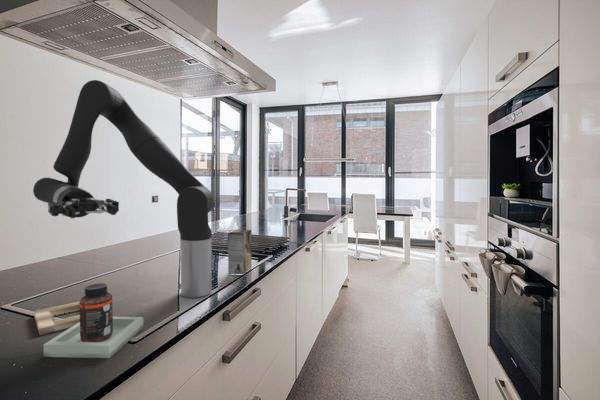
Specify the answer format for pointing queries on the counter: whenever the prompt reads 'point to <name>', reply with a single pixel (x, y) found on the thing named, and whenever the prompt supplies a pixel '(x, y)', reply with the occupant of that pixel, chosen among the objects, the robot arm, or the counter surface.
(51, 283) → the counter surface
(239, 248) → the coffee box
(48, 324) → the frame
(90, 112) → the robot arm
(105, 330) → the supplement bottle
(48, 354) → the tray
